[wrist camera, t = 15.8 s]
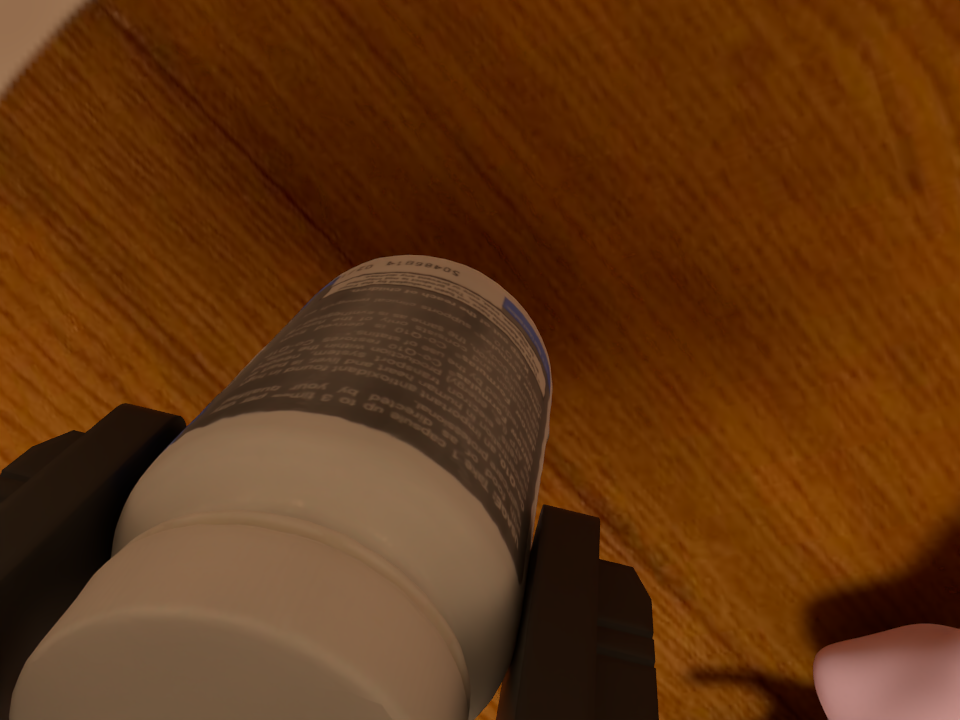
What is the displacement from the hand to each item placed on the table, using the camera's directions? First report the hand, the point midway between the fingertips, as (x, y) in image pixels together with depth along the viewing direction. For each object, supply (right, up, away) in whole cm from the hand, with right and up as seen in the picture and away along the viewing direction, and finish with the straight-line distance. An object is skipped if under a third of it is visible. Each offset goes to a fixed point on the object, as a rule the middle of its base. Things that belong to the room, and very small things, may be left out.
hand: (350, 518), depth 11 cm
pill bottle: (+1, +2, +4) cm, 5 cm away
